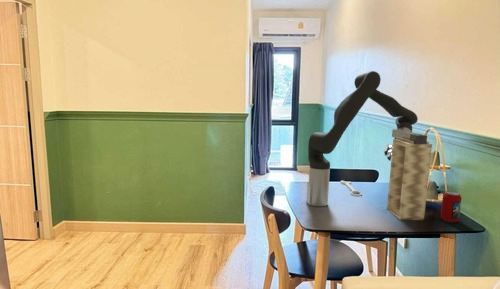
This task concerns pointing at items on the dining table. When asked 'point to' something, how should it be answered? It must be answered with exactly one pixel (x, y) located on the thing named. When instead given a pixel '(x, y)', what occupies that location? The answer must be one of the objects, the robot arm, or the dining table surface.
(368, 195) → the dining table surface
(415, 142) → the gray block
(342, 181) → the wrench
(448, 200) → the beverage can
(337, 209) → the dining table surface
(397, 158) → the beige patterned box
